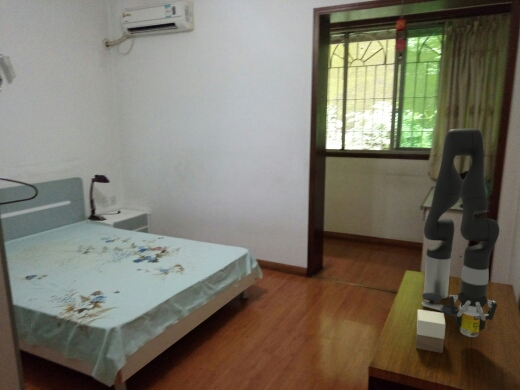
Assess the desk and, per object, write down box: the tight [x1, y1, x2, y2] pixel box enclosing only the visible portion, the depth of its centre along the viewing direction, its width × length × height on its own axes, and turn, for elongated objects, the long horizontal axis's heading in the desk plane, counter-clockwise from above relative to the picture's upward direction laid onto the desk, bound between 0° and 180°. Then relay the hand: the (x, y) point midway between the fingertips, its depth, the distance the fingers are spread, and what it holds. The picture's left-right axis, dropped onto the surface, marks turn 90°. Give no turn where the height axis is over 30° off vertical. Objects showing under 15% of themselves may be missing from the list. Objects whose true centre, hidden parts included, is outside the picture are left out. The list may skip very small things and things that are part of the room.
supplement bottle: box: [459, 305, 481, 338], centre depth 128 cm, size 6×6×10 cm
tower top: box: [416, 309, 446, 340], centre depth 129 cm, size 8×8×5 cm
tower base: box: [415, 329, 445, 354], centre depth 130 cm, size 8×8×5 cm
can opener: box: [421, 292, 459, 318], centre depth 151 cm, size 19×5×6 cm, turn 53°
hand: (469, 327), depth 129 cm, fingers closed on supplement bottle, 5 cm apart
